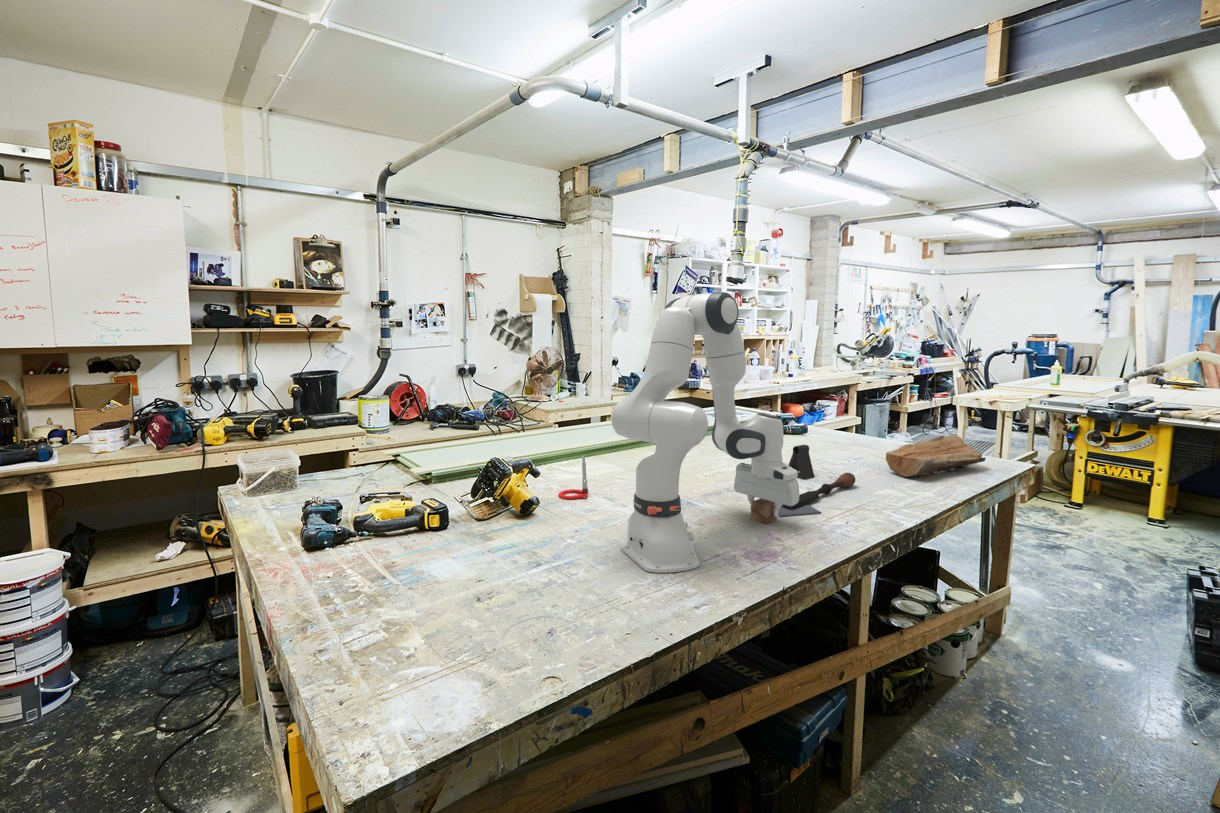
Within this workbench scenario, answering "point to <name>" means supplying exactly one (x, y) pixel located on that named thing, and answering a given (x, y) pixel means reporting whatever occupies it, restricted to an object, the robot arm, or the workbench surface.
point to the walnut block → (762, 511)
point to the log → (932, 456)
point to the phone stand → (802, 462)
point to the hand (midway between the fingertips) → (764, 512)
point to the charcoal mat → (797, 511)
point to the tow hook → (582, 493)
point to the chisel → (824, 490)
